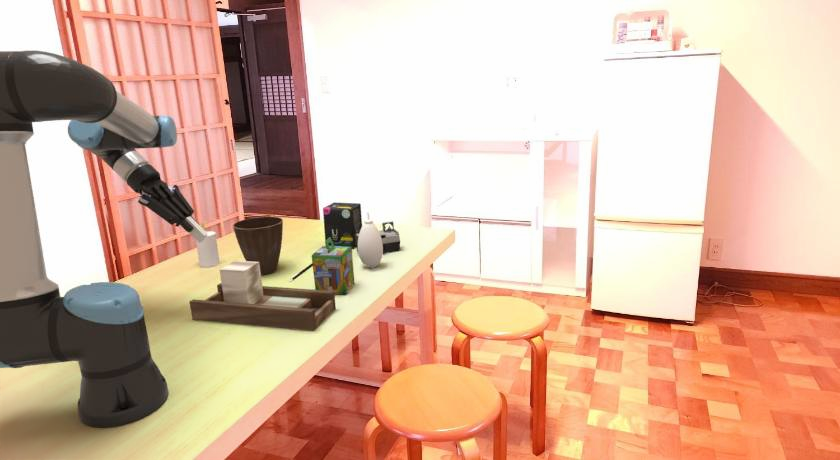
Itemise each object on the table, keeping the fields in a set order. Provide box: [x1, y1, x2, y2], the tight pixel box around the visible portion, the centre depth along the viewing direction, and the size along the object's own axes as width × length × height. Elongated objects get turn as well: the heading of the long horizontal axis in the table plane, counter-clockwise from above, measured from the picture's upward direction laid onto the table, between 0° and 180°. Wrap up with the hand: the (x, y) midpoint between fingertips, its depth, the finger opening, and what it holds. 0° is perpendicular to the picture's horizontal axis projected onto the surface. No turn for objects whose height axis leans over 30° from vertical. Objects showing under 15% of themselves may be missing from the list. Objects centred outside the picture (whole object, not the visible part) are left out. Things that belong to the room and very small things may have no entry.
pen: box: [288, 263, 313, 283], centre depth 173 cm, size 1×19×1 cm, turn 164°
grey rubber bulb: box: [357, 212, 384, 269], centre depth 172 cm, size 8×8×18 cm
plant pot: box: [232, 216, 284, 276], centre depth 173 cm, size 15×15×16 cm
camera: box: [356, 220, 401, 255], centre depth 187 cm, size 15×8×10 cm, turn 108°
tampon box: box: [322, 202, 363, 250], centre depth 197 cm, size 11×9×15 cm
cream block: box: [219, 260, 264, 304], centre depth 142 cm, size 7×7×10 cm
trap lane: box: [189, 283, 337, 332], centre depth 142 cm, size 13×34×5 cm, turn 75°
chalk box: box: [311, 237, 356, 295], centre depth 156 cm, size 9×9×15 cm
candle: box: [195, 221, 221, 269], centre depth 181 cm, size 6×6×15 cm
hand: (203, 238), depth 141 cm, fingers closed
